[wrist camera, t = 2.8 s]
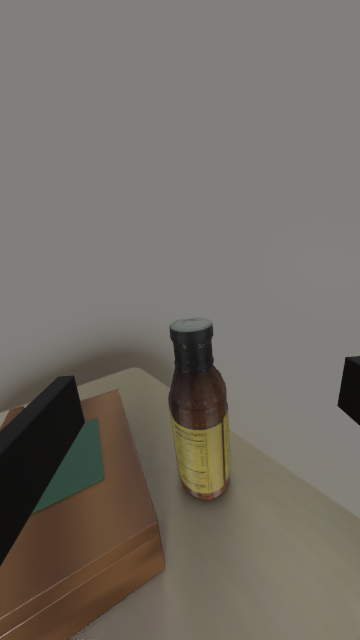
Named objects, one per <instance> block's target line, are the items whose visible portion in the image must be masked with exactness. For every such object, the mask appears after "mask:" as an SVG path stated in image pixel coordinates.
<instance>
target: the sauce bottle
mask: <svg viewBox="0 0 360 640" xmlns="http://www.w3.org/2000/svg"><path fill="white" fill-rule="evenodd" d="M212 336H213V326H212V322H211V321H210V320H209V319H206V318H197V317H194V318H186V319H180V320H177V321H174V322H173V323H172V324H171V325H170V338H171V340H172V342H173V345H174V354H175V370H174V375H173V380H172V385H171V389H170V392H169V398H168V401H169V409H170V416H171V422H172V429H173V436H174V443H175V450H176V458H177V465H178V471H179V475H180V477H181V479H182V482H183V485H184V487H185V489H186V490H187V491H188V492H189V493H190V494H192V495H193V496H195V497H197V498H199V499H203V500H211V499H214V498H216V497H217V496H219V495H220V494H221V493H223V492H224V491H225V490H226V488H227V485H228V482H229V473H230V446H229V423H228V404H227V401H226V386H225V382H224V381H223V378H222V376H221V374H220V372H219V371H218V370H217V369H216V368H215V366H213V362H214V359H213V356H212V343H211V339H212Z"/></svg>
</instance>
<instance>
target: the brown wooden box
mask: <svg viewBox="0 0 360 640" xmlns="http://www.w3.org/2000/svg"><path fill="white" fill-rule="evenodd" d="M80 403H81V407H82V411H83V415H84V419H85V423H84V425H83V427H82V429H81V430H80V432H79V434H78V435H77V437H76V439H75V441H74V442H73V444H72V446H71V447H70V449H69V451H68V452H67V454H66V456H65V458H64V459H63V461H62V463H61V464H60V466H59V468H58V469H57V471H56V473H55V475H54V476H53V478H52V480H51V481H50V483H49V485H48V487H47V488H46V490H45V492H44V493H43V495H42V497H41V498H40V500H39V502H38V504H37V505H36V507H35V509H34V510H33V512H32V514H31V515H30V517H29V519H28V521H27V522H26V524H25V526H24V527H23V529H22V531H21V532H20V534H19V536H18V538H17V539H16V541H15V543H14V544H13V546H12V548H11V550H10V551H9V553H8V555H7V556H6V558H5V560H4V561H3V563H2V565H1V567H0V640H67V639H69V638H70V637H71V636H73V635H74V634H76V633H77V632H78V631H80V630H81V629H82V628H84V627H85V626H87V625H88V624H89V623H91V622H92V621H93V620H95V619H96V618H98V617H99V616H100V615H102V614H103V613H104V612H106V611H107V610H108V609H110V608H111V607H113V606H114V605H115V604H117V603H118V602H119V601H121V600H122V599H124V598H125V597H126V596H128V595H129V594H130V593H132V592H133V591H135V590H136V589H137V588H139V587H140V586H141V585H143V584H144V583H146V582H147V581H148V580H150V579H151V578H152V577H154V576H155V575H157V574H158V573H159V572H161V571H162V570H163V569H165V564H164V558H163V551H162V545H161V539H160V532H159V526H158V520H157V517H156V514H155V510H154V507H153V504H152V500H151V497H150V494H149V491H148V487H147V484H146V481H145V477H144V474H143V471H142V467H141V464H140V461H139V458H138V454H137V451H136V448H135V444H134V441H133V438H132V434H131V431H130V428H129V425H128V421H127V418H126V415H125V411H124V408H123V405H122V401H121V398H120V395H119V392H118V389H117V390H114V391H111V392H107V393H104V394H101V395H98V396H95V397H92V398H88V399H85V400H82V401H80ZM23 409H24V407H23V406H21V407H18V408H14V409H11V410H10V411H9V413H8V415H7V417H6V419H5V421H4V422H3V424H2V426H1V428H0V431H1V430H2V429H3V428H4V427H5V426H6V425H7V424H9V423H10V422H11V421H12V420H13V419H14V418H15V417H16V416H17V415H18V414H19V413H20V412H21V411H22V410H23Z"/></svg>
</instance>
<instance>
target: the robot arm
mask: <svg viewBox="0 0 360 640" xmlns="http://www.w3.org/2000/svg"><path fill="white" fill-rule="evenodd" d="M338 407H339V408H341V409H342V410H343V411H344V412H345V413H346V414H347V415H348V416H350V417H351V418H352V419H353V420H354V421H355V422H356V423H357V424H359V425H360V356H357V357H346V358H345V365H344V370H343V376H342V382H341V388H340V394H339V400H338ZM84 423H85V419H84V415H83V411H82V407H81V403H80V399H79V394H78V390H77V386H76V382H75V378H74V376H63V377H58V378H56V380H54V381H53V382H52V383H51V384H50V385H49V386H48V387H47V388H46V389H45V390H44V391H43V392H42V393H40V394H39V395H38V396H37V397H36V398H35V399H34V400H33V401H32V402H31V403H30V404H29V405H28V406H27V407H26V408H25V409H23V410H22V411H21V412H20V413H19V414H18V415H17V416H16V417H15V418H14V419H13V420H12V421H11V422H10V423H9V424H7V425H6V426H5V427H4V428H3V429H2V430H1V431H0V567H1V565H2V563H3V561H4V560H5V558H6V556H7V555H8V553H9V551H10V550H11V548H12V546H13V544H14V543H15V541H16V539H17V538H18V536H19V534H20V532H21V531H22V529H23V527H24V526H25V524H26V522H27V521H28V519H29V517H30V515H31V514H32V512H33V510H34V509H35V507H36V505H37V504H38V502H39V500H40V498H41V497H42V495H43V493H44V492H45V490H46V488H47V487H48V485H49V483H50V481H51V480H52V478H53V476H54V475H55V473H56V471H57V469H58V468H59V466H60V464H61V463H62V461H63V459H64V458H65V456H66V454H67V452H68V451H69V449H70V447H71V446H72V444H73V442H74V441H75V439H76V437H77V435H78V434H79V432H80V430H81V429H82V427H83V425H84Z"/></svg>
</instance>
